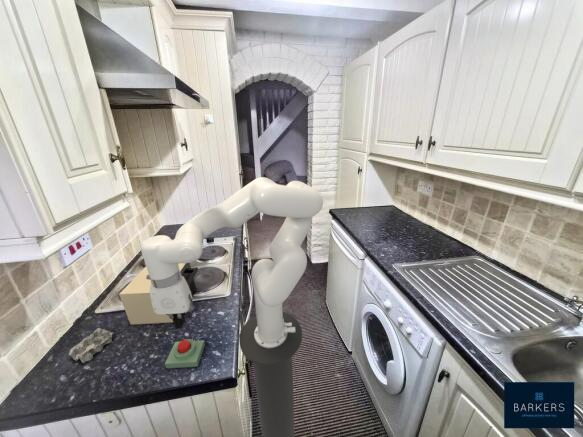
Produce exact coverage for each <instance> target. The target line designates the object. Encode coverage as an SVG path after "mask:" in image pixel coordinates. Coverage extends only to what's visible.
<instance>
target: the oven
mask: <svg viewBox="0 0 583 437" xmlns="http://www.w3.org/2000/svg"><path fill="white" fill-rule="evenodd" d="M185 264H186V263H178V266H179V269H180V271H181V270H182V268H183V267H184V265H185ZM147 275H149V273H148V270H147V267H146V266H144V267H143V268H142V270H141V271H140V272H139V273H138V274H137V275H136V276H135V277H134V278H133V279H132V280H131V281H130V282H129V283H128V284H127V285H126V286H125V287H124V288H123V289H122V290H121V291H120V292H119V294H118V296H119V298H120V300H121V303H122V306H123V308H124V311H125V315H126V316H127V319H128V321H129V324H130V325H149V324H150V325H151V324H167V323H168V324H169V323H173V320H172V319H170V318H169V316H168V315H166V314H156V313H155V312H154V310H153V307H152V303H151V298H150V284H151V280H149V279H146V276H147Z"/></svg>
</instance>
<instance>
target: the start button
mask: <svg viewBox="0 0 583 437" xmlns="http://www.w3.org/2000/svg"><path fill="white" fill-rule="evenodd" d="M179 342H180V343H179V344H178V350H179V352H180V353H185V352H187V351H188V350H189V349H190V342H189V341H188V340H185V339H183V340H181V341H179Z"/></svg>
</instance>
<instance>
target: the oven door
mask: <svg viewBox="0 0 583 437" xmlns="http://www.w3.org/2000/svg"><path fill="white" fill-rule="evenodd" d="M191 266H192V265H191V263H186V264H185V265H184V267H183V268H182V270H181V271H180V273H181V276H183V277H184V278H185V280H186V282H187V284H188V286H189V289H190V291H191V294H192V297H193V296H194V294H195V292H196V290H197V288H196V282H195V277H196V275H197V273H198V272H199V267H191ZM194 289H195V290H194ZM193 291H194V292H193Z"/></svg>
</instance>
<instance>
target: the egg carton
mask: <svg viewBox="0 0 583 437" xmlns="http://www.w3.org/2000/svg"><path fill="white" fill-rule="evenodd" d="M113 334H114V332H111V331H109V330H107V329H104V328H100V327H97V328H96V329H95V330H94V331H93V333H91V334H89V335H88V336H86V337H85V338H84V339H82V340H81V341H80V342H79V343H77V344H76V345H74V346H73V347H72V348H71V349H70V350H69V353H68V355H69V356H71V357H72V359H73V360H74V361H75V362H77V361H78V360H79V361H81V363H83V364H84V363H86V362H89V361H91V360H92V359H94V355H95V354H97V353H100V352H102V350H103V349H104V346H105V345H107V344H111V343H112V342H113V340H112V339H113Z"/></svg>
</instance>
